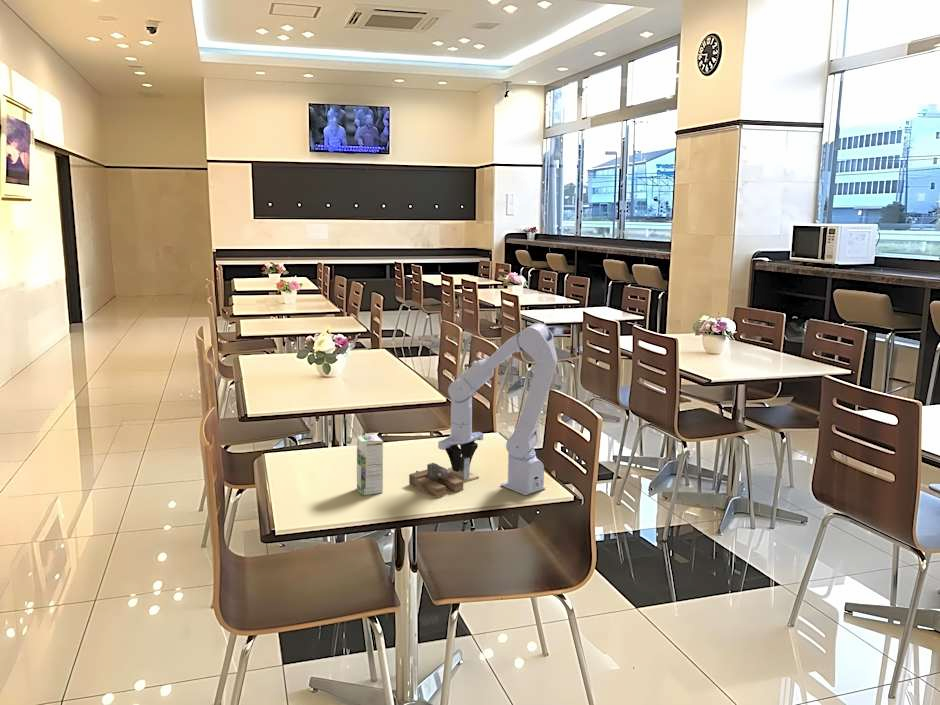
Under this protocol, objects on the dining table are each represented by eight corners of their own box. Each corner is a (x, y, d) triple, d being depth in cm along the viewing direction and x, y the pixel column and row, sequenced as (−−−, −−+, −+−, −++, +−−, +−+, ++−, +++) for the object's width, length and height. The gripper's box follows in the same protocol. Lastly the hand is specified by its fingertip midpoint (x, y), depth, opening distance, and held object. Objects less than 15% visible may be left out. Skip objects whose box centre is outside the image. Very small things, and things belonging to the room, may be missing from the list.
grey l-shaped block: (469, 478, 211) (469, 457, 210) (463, 480, 210) (464, 459, 209) (453, 471, 216) (453, 451, 215) (447, 473, 215) (447, 452, 214)
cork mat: (478, 478, 213) (478, 476, 213) (456, 484, 208) (456, 483, 207) (455, 468, 220) (455, 467, 220) (433, 474, 215) (433, 473, 215)
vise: (463, 489, 204) (463, 468, 203) (437, 497, 198) (437, 475, 197) (429, 475, 214) (429, 454, 213) (404, 482, 209) (403, 461, 208)
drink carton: (356, 488, 204) (355, 436, 201) (377, 485, 206) (377, 433, 203) (362, 496, 199) (361, 442, 196) (384, 493, 201) (383, 439, 198)
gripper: (471, 414, 217) (471, 460, 219) (431, 423, 207) (431, 471, 210) (488, 419, 212) (487, 466, 214) (447, 429, 202) (447, 478, 205)
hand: (460, 469), depth 212 cm, fingers open, 3 cm apart
